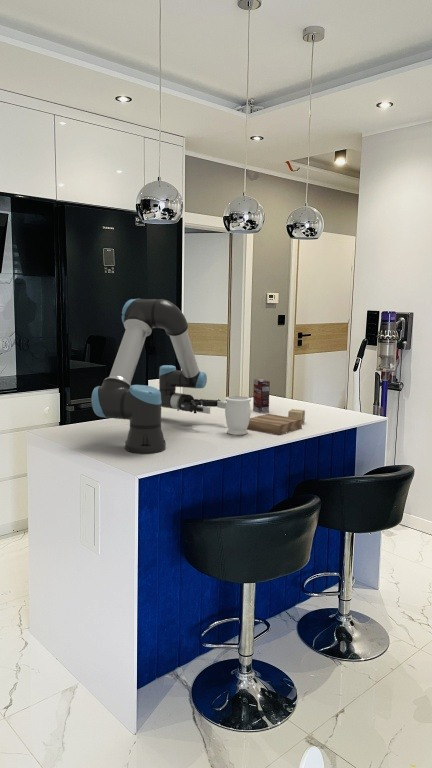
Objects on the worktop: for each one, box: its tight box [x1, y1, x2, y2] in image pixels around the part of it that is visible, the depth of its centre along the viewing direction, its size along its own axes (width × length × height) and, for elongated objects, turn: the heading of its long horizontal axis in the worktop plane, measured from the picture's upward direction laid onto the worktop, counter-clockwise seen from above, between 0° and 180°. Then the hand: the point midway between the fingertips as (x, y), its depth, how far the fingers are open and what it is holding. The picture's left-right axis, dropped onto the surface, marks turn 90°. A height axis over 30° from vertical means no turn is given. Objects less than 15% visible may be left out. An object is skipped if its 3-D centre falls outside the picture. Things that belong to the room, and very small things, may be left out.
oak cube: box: [287, 408, 306, 425], centre depth 274 cm, size 6×6×6 cm
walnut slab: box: [246, 413, 303, 436], centre depth 263 cm, size 18×18×4 cm
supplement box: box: [252, 378, 271, 414], centre depth 300 cm, size 9×5×16 cm, turn 25°
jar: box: [224, 395, 252, 436], centre depth 253 cm, size 11×10×15 cm
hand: (219, 408), depth 258 cm, fingers open, 13 cm apart
